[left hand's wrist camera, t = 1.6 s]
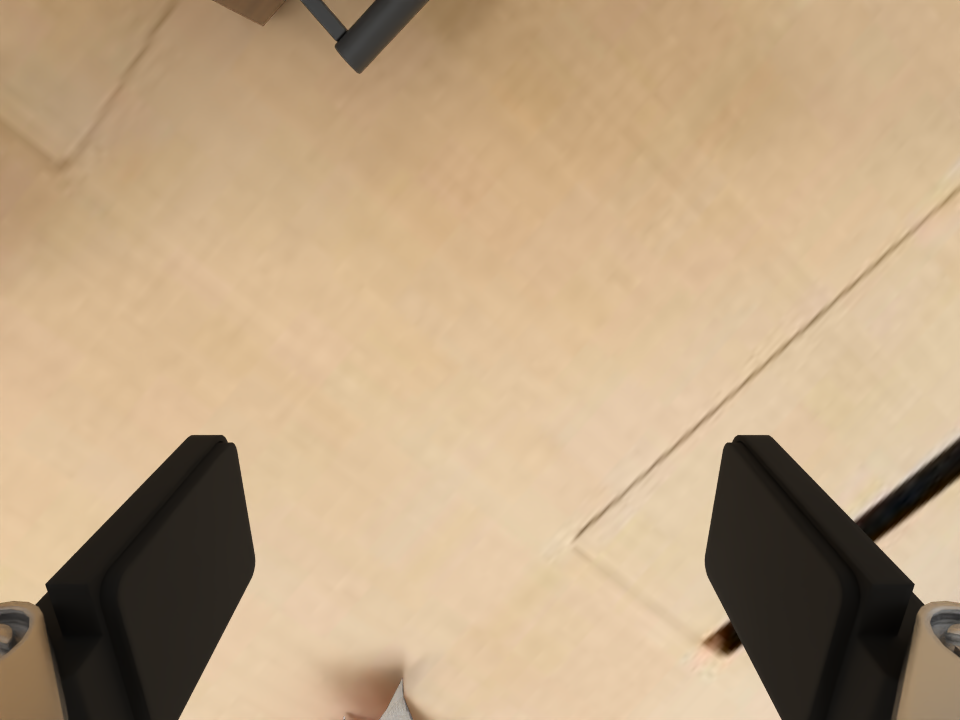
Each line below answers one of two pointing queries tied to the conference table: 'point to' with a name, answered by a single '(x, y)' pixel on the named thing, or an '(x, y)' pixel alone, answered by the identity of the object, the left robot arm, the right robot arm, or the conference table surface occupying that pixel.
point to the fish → (397, 707)
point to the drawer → (355, 45)
